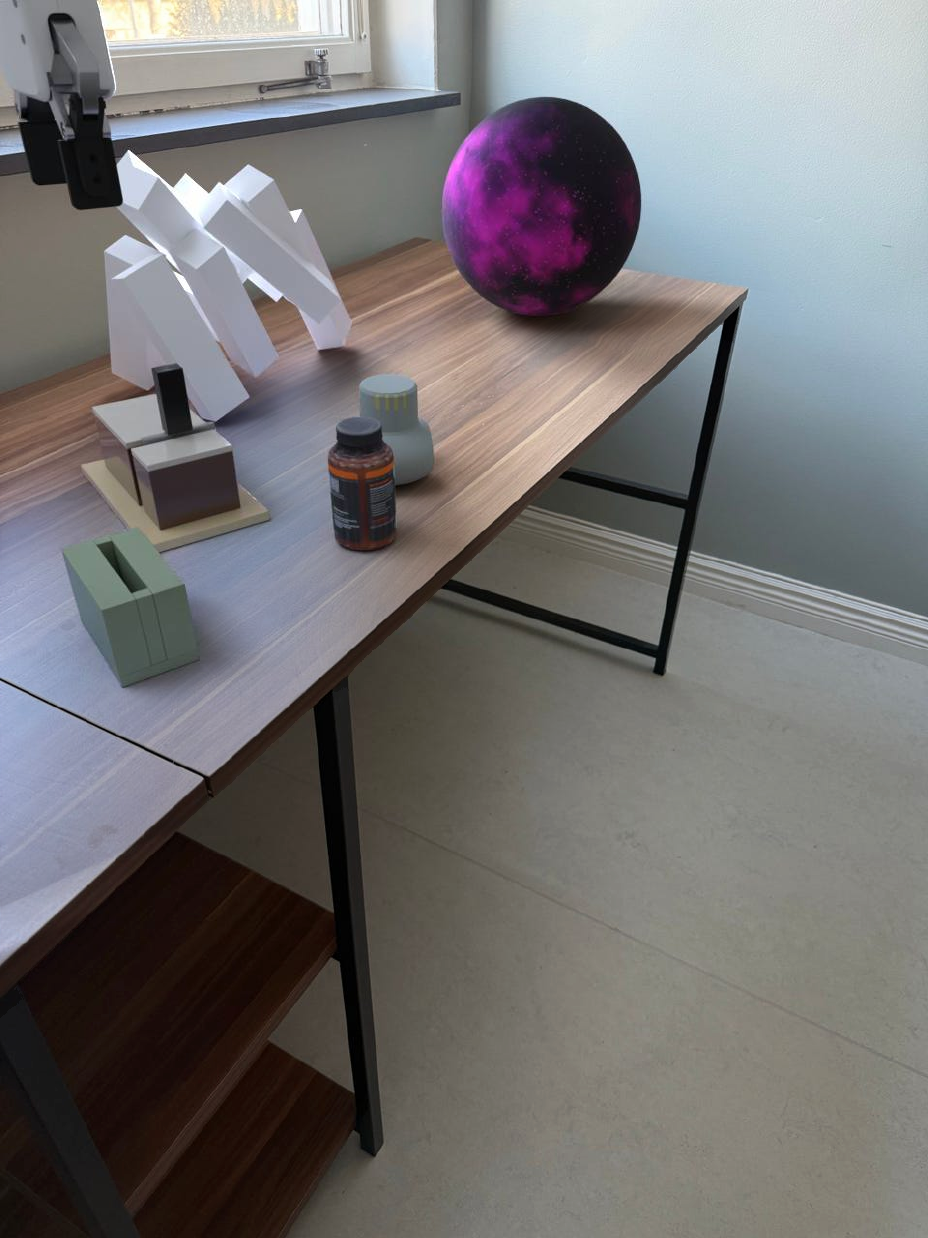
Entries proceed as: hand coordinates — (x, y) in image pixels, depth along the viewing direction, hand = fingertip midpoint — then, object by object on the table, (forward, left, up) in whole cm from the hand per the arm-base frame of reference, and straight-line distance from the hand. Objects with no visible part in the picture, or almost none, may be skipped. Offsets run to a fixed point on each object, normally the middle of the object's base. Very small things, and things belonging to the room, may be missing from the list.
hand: (76, 194), depth 61 cm
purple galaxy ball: (+77, +41, -31) cm, 92 cm away
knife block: (-5, -10, -30) cm, 32 cm away
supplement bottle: (+18, -6, -31) cm, 36 cm away
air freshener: (+27, +4, -31) cm, 41 cm away
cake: (+6, +12, -30) cm, 33 cm away
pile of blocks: (+25, +39, -31) cm, 55 cm away
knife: (+7, +9, -29) cm, 31 cm away
